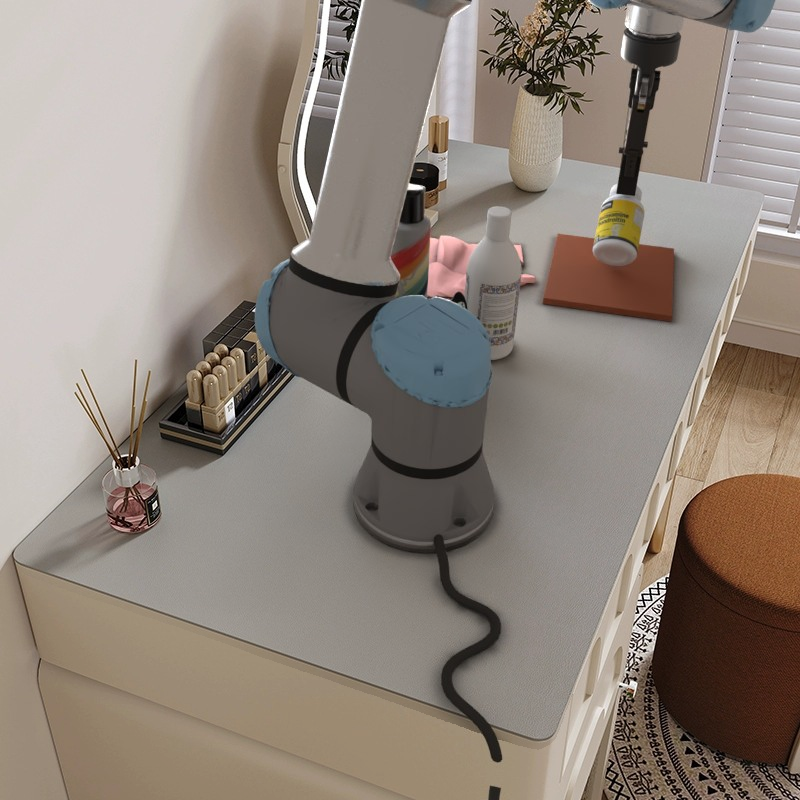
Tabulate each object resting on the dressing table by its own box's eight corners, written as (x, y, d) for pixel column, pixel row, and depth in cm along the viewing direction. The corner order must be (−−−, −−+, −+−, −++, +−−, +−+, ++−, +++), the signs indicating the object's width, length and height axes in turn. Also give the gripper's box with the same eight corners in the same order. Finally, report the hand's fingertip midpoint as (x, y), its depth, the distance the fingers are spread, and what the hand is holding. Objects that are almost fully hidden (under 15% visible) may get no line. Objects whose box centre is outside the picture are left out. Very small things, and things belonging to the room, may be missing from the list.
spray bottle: (379, 325, 141) (381, 190, 128) (392, 304, 145) (396, 172, 133) (418, 333, 139) (424, 198, 127) (431, 312, 143) (438, 180, 131)
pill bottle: (582, 253, 151) (595, 189, 156) (614, 273, 154) (625, 210, 159) (614, 237, 146) (626, 172, 151) (646, 259, 149) (657, 194, 153)
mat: (671, 321, 143) (672, 315, 143) (542, 303, 146) (543, 297, 146) (673, 254, 159) (674, 248, 158) (556, 238, 162) (557, 233, 161)
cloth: (370, 278, 151) (370, 263, 149) (447, 222, 165) (448, 208, 164) (491, 322, 142) (492, 307, 140) (561, 259, 157) (563, 245, 155)
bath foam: (523, 350, 137) (540, 213, 125) (485, 368, 133) (498, 229, 121) (488, 327, 141) (500, 193, 129) (450, 344, 137) (459, 208, 125)
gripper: (681, 49, 130) (650, 216, 145) (682, 16, 141) (653, 175, 155) (621, 43, 131) (596, 209, 146) (627, 11, 142) (603, 169, 156)
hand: (625, 192), depth 150 cm, fingers closed
